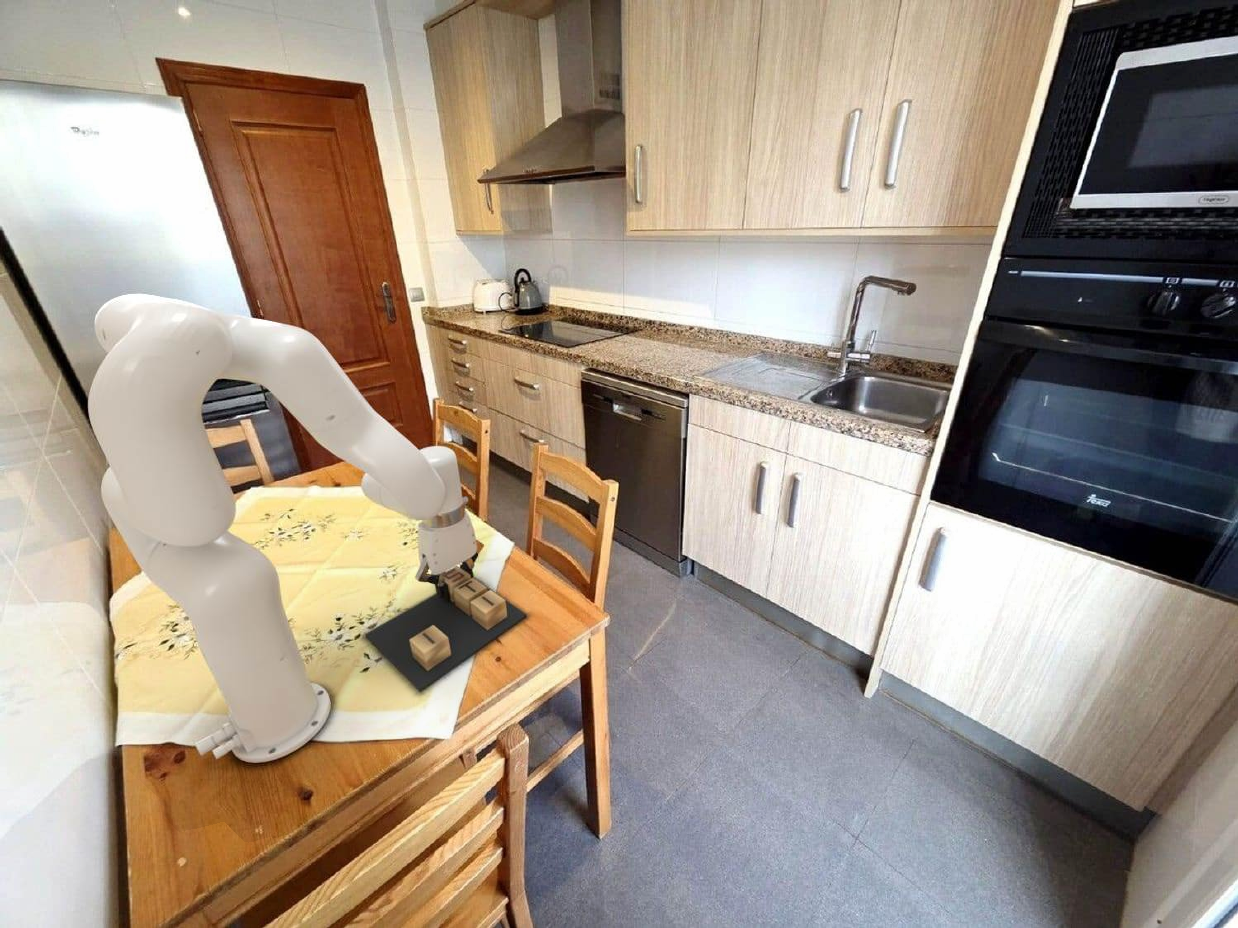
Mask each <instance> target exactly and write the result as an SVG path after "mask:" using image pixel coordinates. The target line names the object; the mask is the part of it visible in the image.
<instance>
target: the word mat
mask: <svg viewBox="0 0 1238 928" xmlns="http://www.w3.org/2000/svg"><path fill="white" fill-rule="evenodd" d="M474 579H475V580H477V581H478V582H480V583H481V584H483V583H482V582H481V581H479V580H478V579H476V578H475V577H474ZM483 585H484V586H485V587H487V591H489V590H491V591H493V590H492V589H491V588H489V587H488V586H487V585H485V584H483ZM493 592H494V593H496V592H495V591H493ZM496 594H497V595H499V594H498V593H496ZM499 596H500V595H499ZM500 597H501V598H503V597H502V596H500ZM503 599H504V600H505V601H506V610H507V617H506V618H505V619H503V620H502V621H500V622H499V623H497V624H496V625H494V626H493V627H492V628H490V629H489V630H487V629H485V628H484V627H483V626H482V625H480V624H479V623H478V622H476V621H475V620H474V619H473V617H472V615H470V616H469V615H468V614H466V613H465V612H464V611H462V610H461V609H460V608H459V607H457V606H456V604H455V602H452V601H451V600H449V601H446V600H444V599H443V598H442V597H441V598H440V597H438V596H437V593H435V594H433V595H432V596H429V597H428V598H426V599H424V600H422V601H421V602H419V603H417V604H415V605H414V606H412V607H411V608H408V609H406V610H405V611H403V612H402V613H400V614H398V615H397V616H394V617H393V618H392V619H389V620H388V621H386V622H384V623H383V624H381V625H379V626H378V627H376V628H374V629H372V630H370V631H368V632H367V633H365V637H366V638H367V640H369V641H370V642H371V643H372V644H373V646H375V648H376V649H378V650H379V651H380V653H382V655H384V657H385V658H386V659H387V660H388V661H389V662H390V663H391V664H393V666H394V667H395V668H396V669H397V670H398V671H399V672H400V673H401V674H402V675H403V676H404V677H405V678H406V679H407V680H408V681H409V682H410V683H411V684H412V685H413V686H414V687H415V688H416V689H417V690H418V691H419V692H420V693H421V692H422V691H424V690H425V689H426V688H428V687H430V686H431V685H432V684H433V683H434V684H435V682H437V681H438V680H439V679H441V678H442V677H444V676H445V675H446V674H448V673H450V672H451V671H452V670H454V669H455V668H457V667H458V666H459V665H461V664H462V663H463V662H465V661H466V660H467V659H469V658H471V657H472V656H474V655H475V654H476V653H477V652H479V651H480V650H482V649H484V648H485V647H486V646H488V645H489V644H490V643H492V642H493V641H495V640H496V639H497V638H499V637H500V636H502V635H504V634H505V633H506V632H507V631H508V630H511V628H513V627H514V626H516V625H517V624H519V623H521V622H522V621H523V620H524V619H526V618H527V616H528V615H527V614H526V613H525V612H524V611H522V610H521V609H519V608H518V607H517V606H515V605H514V604H512V603H511V602H510V601H507V600H506V599H505V598H503ZM432 625H434V626H435V627H436V628H438V629H439V630H440V631H441V632H442V633H443V634H445V635H446V636H447V637H448V639H449V645H450V650H451V655H450V656H449V657H447V658H446V659H444V660H443V661H442V662H440V663H439V664H437V665H436V666H434V667H433V668H431V669H430V670H428V671H427V670H426V669H425V668H424V667H423V666H422V665H421V664H420V663H419V662H418V661H417V660H416V659H415V658H414V657H413V654H412V650H411V645H410V641H409V640H410V639H411V638H413V637H415V636H416V635H418V634H419V633H421V632H423V631H424V630H426V629H427V628H429V627H431V626H432Z"/></svg>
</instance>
